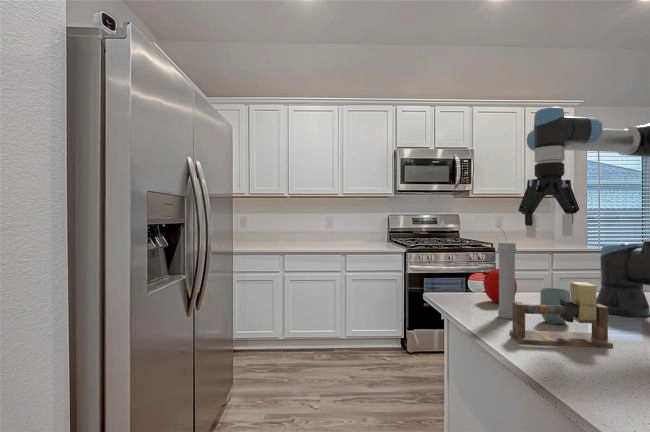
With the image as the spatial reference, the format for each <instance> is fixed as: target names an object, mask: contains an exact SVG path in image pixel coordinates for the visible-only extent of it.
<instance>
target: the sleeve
mask: <svg viewBox="0 0 650 432" xmlns="http://www.w3.org/2000/svg"><path fill="white" fill-rule="evenodd" d="M569 291H570V302H572V303H573V306H578V315H573V321H575V322H577V323H579V324H592V323H595V324H596V298H597V285H595V284H594V283H593V284H592V283H589V282H586V281H585V282H582V281H581V282H580V281H570V289H569Z"/></svg>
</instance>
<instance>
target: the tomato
mask: <svg viewBox="0 0 650 432" xmlns="http://www.w3.org/2000/svg"><path fill="white" fill-rule="evenodd" d="M483 288H484V289H483V290H484V292H485V294H486V296H487V297H488V298H489V300H490V301H493V303H498V304H499V268H494V267H493V268H492V269H490V271H488V272H487V273H486V274H485V276H484V278H483ZM517 288H518V287H517V280H516V279H515V295H516V294H517Z"/></svg>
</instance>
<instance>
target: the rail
mask: <svg viewBox="0 0 650 432" xmlns="http://www.w3.org/2000/svg"><path fill="white" fill-rule="evenodd" d="M526 314H527V315H528V314H529V315H542V314H554V315H567V306H561V305H540V304H524V303H523V302H521V301H515V302H513V319H512V329H509V335H511V336H512V337H513V338H514V339H515V341H517V342H518V343H519V344H520V345H521V344H522V345H544V346H545V345H546V346H566V347H567V346H570V347H572V346H573V347H589V346H591V347H592V348H593V347H595V348H596V347H598V348H614V343H613V342H611V341H610V340H609V313H608V307H606V306H603V305H601V304H596V324H595V323H591V332H579V331H577V332H576V331H554V330H553V331H551V330H550V331H549V330H526ZM573 315H578V306H573Z"/></svg>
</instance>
